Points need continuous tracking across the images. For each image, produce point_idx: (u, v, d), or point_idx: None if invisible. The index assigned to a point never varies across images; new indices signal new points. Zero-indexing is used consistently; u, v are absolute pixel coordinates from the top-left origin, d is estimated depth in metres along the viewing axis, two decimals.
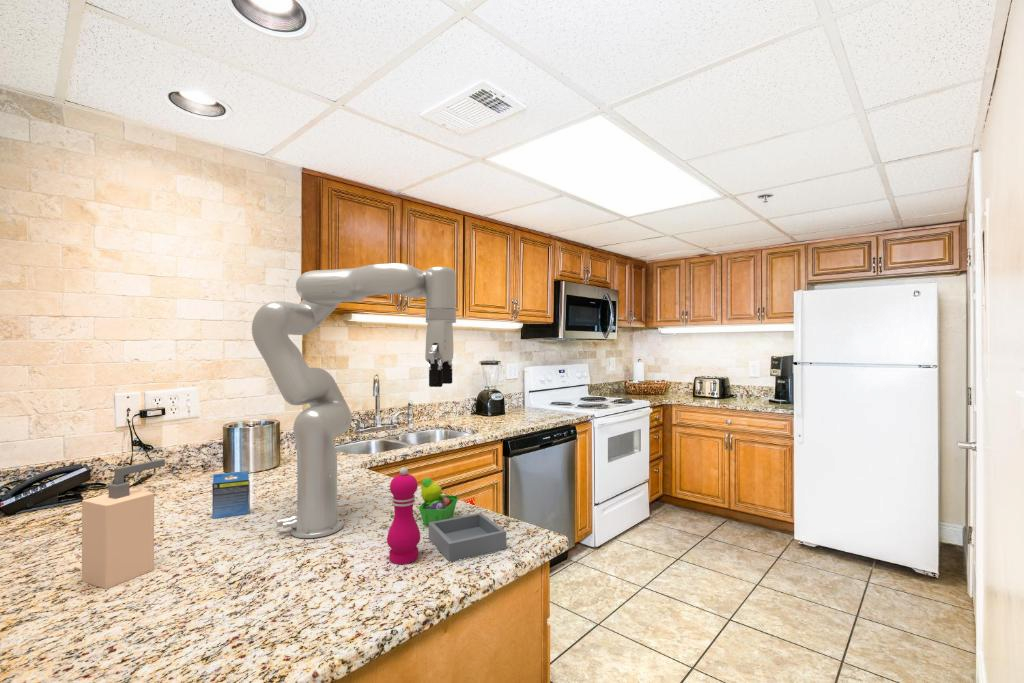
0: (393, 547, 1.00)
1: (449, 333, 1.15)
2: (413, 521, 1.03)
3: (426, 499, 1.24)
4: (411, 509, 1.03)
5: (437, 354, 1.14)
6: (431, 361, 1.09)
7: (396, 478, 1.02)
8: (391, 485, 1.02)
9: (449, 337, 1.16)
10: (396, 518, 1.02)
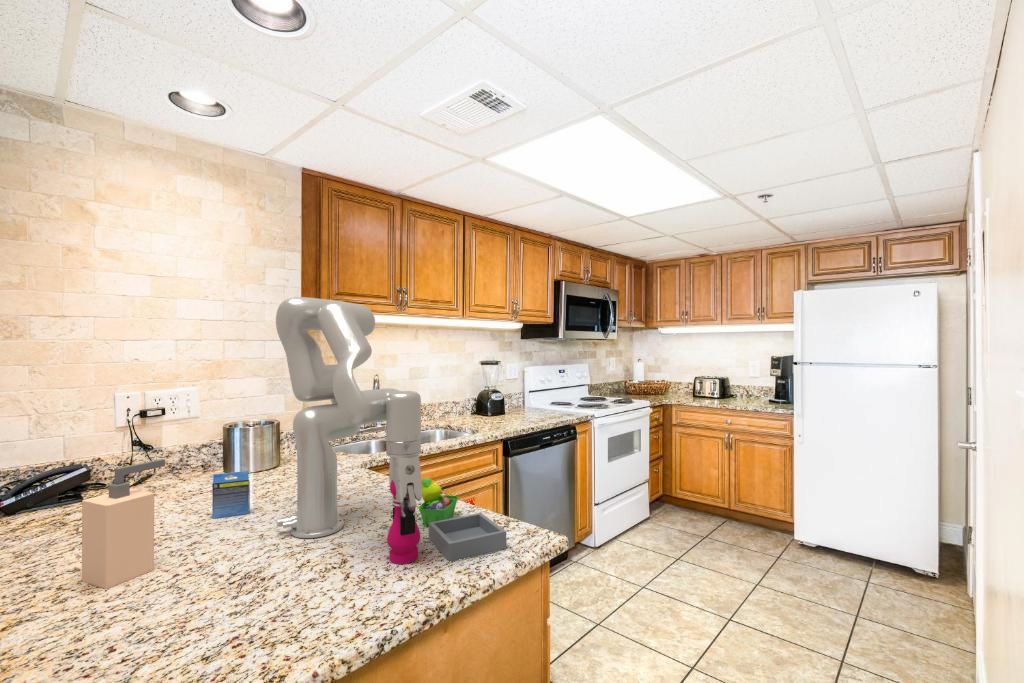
0: (393, 547, 1.00)
1: (391, 466, 1.03)
2: None
3: (426, 499, 1.24)
4: None
5: None
6: None
7: None
8: (391, 485, 1.02)
9: (391, 471, 1.03)
10: (396, 518, 1.02)
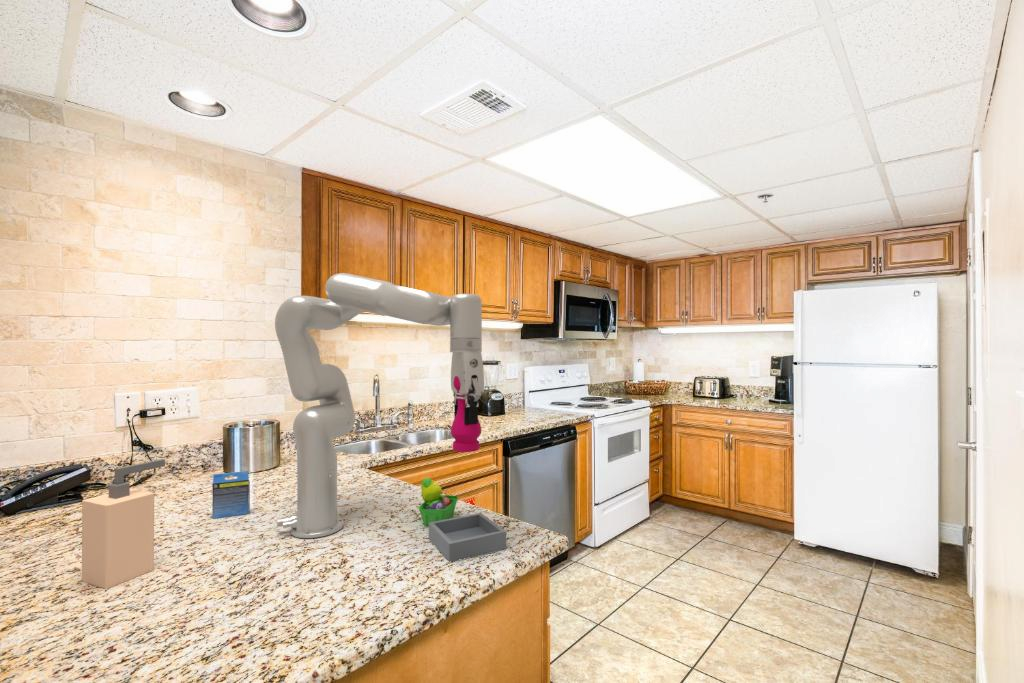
0: (458, 436, 1.08)
1: (454, 364, 1.11)
2: None
3: (426, 499, 1.24)
4: None
5: None
6: None
7: None
8: (455, 380, 1.09)
9: (454, 368, 1.11)
10: (460, 410, 1.09)
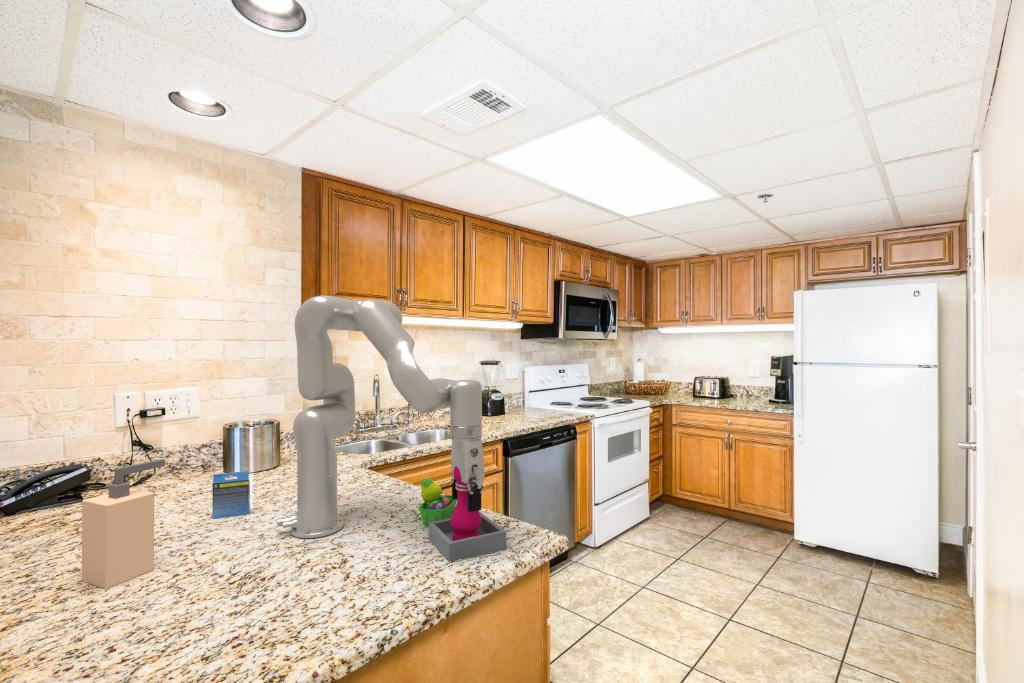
0: (458, 529, 1.07)
1: (454, 450, 1.11)
2: None
3: (426, 499, 1.24)
4: None
5: None
6: None
7: None
8: (455, 471, 1.09)
9: (454, 454, 1.11)
10: (459, 502, 1.09)
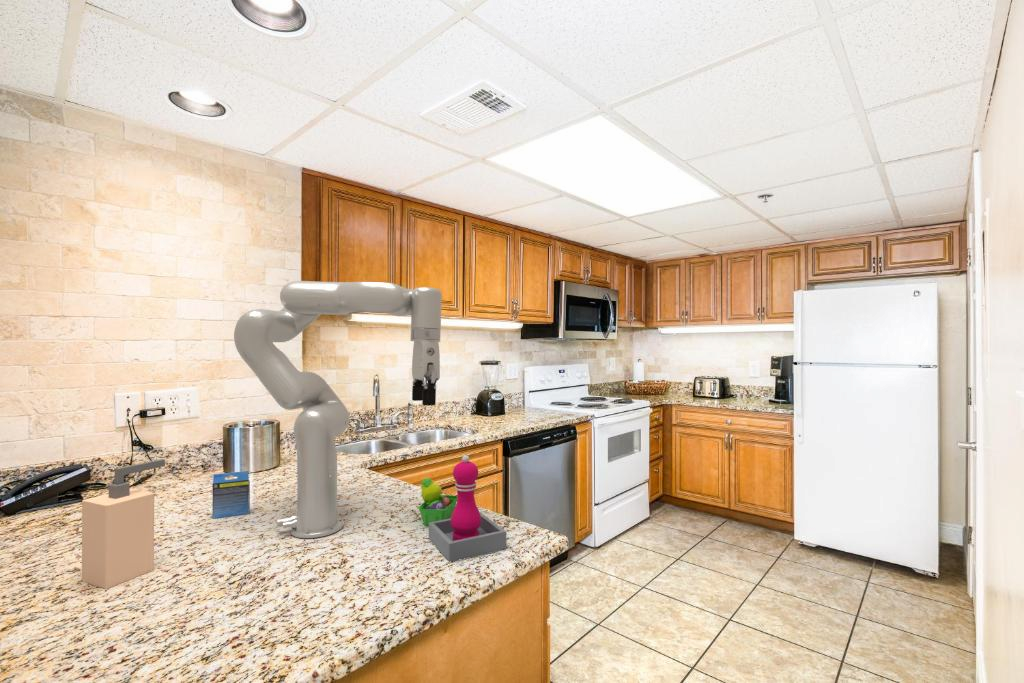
0: (457, 529, 1.07)
1: (414, 352, 1.19)
2: (475, 505, 1.10)
3: (426, 499, 1.24)
4: (473, 494, 1.10)
5: None
6: None
7: (459, 465, 1.09)
8: (455, 471, 1.09)
9: (414, 356, 1.19)
10: (459, 502, 1.09)
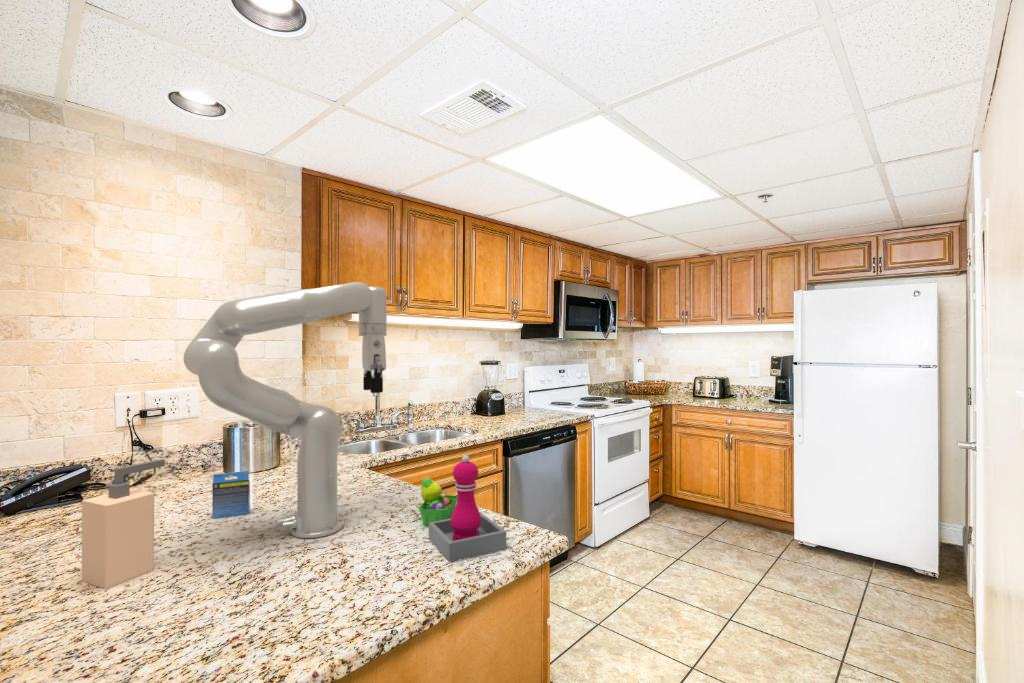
0: (458, 529, 1.07)
1: (362, 345, 1.32)
2: (475, 505, 1.10)
3: (426, 499, 1.24)
4: (473, 494, 1.10)
5: None
6: None
7: (459, 465, 1.09)
8: (455, 471, 1.09)
9: (363, 349, 1.32)
10: (459, 502, 1.09)
